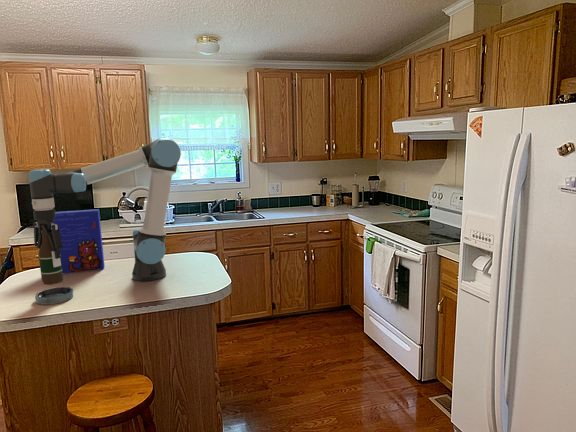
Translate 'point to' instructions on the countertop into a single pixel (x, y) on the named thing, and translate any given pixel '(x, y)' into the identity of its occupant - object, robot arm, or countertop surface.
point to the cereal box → (80, 240)
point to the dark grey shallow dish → (54, 295)
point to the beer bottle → (48, 263)
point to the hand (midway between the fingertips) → (50, 264)
